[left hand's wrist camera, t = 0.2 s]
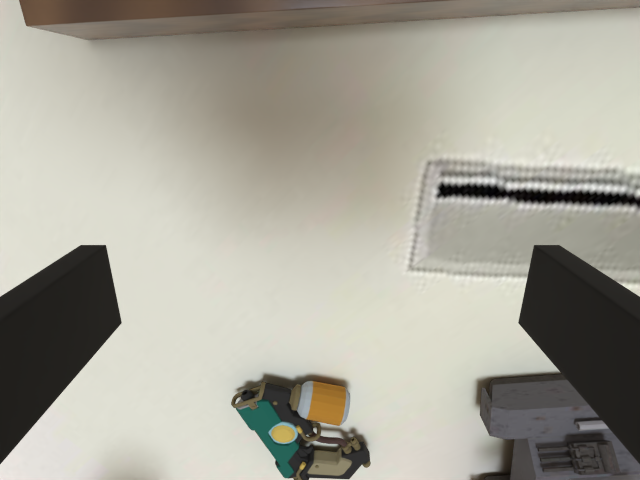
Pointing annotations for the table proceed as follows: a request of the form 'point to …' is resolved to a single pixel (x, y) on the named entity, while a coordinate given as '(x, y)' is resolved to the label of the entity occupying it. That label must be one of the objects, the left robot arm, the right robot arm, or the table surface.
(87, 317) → the left robot arm
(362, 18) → the post
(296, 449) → the spray gun
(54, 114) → the table surface
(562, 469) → the toy
